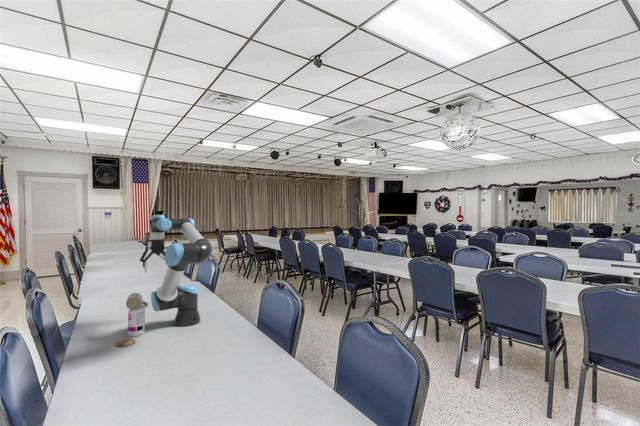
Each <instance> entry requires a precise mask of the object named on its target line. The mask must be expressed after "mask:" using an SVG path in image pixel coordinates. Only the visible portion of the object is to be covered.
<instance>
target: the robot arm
mask: <svg viewBox="0 0 640 426" xmlns="http://www.w3.org/2000/svg"><path fill="white" fill-rule="evenodd" d="M150 222H151V223H150V224H151V229H150V230H151V232H150V233H151V235H150V238H151V242H150V246H146V247H145V250H144V252H143V253H142V255H141V257H140V259H139V262H142V267H143V268H144V273H145V274H146V273H147V272H148V260H149V259H150V258H151V257H152V255H154V254H155V255H156V254H161V255H162V256H163V257H164V261H165V264H166V266H167V269H166V272H165V276H164V277H163V281H162V284H161V285H160V286H158V288H157V289H156V290H155V291H152V292H151V293H150V301H151V306H152V309H153V311H154V312H162V311H167V310H172V309H177V311H176V313H175V318H174V321H173V322H174V325H175V326H178V327H189V326H194V325H197V324H199V323H200V322H201V316H200V312H199V308H198V302H199V301H198V300H199V299H198V297H199V291H198V287H197V286H196V285H193V284H180V282H181V281H182V278H183V276H184V273H185V271H187V270H188V269H189V268H190V266H191V265H198V264H202V263H204V262H206V261H208V260H209V258H210V257H211V255H212V253H213V246H212V243H211V242H210V241H209V240H208V239H207V238H204V237H203V236H202V234H201V233H200V231H198V230H197V229H196V227H195V221H194V218H188V217H186V218H185V217H184V218H179V217H178V218H174V217H173V218H171V217H170V218H169V217H168V218H166V217H165V215H164V214H153V215H152V216H151V221H150ZM166 231H181V233H182V234H183V235H184V237H186V239H187V241H188V242H182V243H181V242H176V243H171V244H169V245H168V246H165V232H166ZM149 250H151V252H150V253H148V252H149ZM147 254H148V255H147ZM198 322H199V323H198ZM196 323H197V324H196Z"/></svg>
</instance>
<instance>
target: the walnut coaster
mask: <svg viewBox="0 0 640 426" xmlns="http://www.w3.org/2000/svg"><path fill="white" fill-rule="evenodd" d="M136 342H137V341H136V339H135V338H123V339H120V340H117V341H116V342H115V347H116V348H127V347H131V346H134V345H135V344H136Z"/></svg>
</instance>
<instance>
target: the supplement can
mask: <svg viewBox="0 0 640 426" xmlns="http://www.w3.org/2000/svg"><path fill="white" fill-rule="evenodd" d="M127 315H128V316H127V317H128V318H127V319H128V320H127V330H128V331H127V335H128V336H129V337H131V338H132V337H133V338H134V337H135V338H136V337H140V336H143V335H144V334H145V333H146V308H144V307H140V306H139V307H138V308H137V309H133V310H132V309H129V308H128V311H127Z"/></svg>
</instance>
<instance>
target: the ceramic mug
mask: <svg viewBox="0 0 640 426" xmlns="http://www.w3.org/2000/svg"><path fill="white" fill-rule="evenodd" d="M125 306H126V307H127V309H128V310H129V309H132V310H133V309H137V308H138V307H139V306H140V307H144V308H145V309H146V308H147V307H148V306H149V303H148V302H146V301H144V298H143V296H142V294H141V293H137V292H133V293H131V294H129V295H128V298H127V299H126V301H125Z"/></svg>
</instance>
